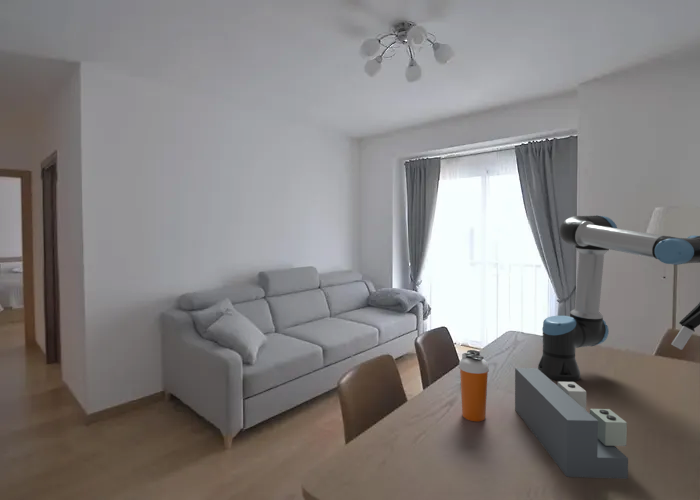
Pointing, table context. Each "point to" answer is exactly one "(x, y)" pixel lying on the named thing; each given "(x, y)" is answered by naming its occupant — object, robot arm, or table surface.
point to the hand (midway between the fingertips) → (690, 349)
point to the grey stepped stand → (565, 428)
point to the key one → (574, 392)
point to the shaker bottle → (473, 386)
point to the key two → (610, 427)
